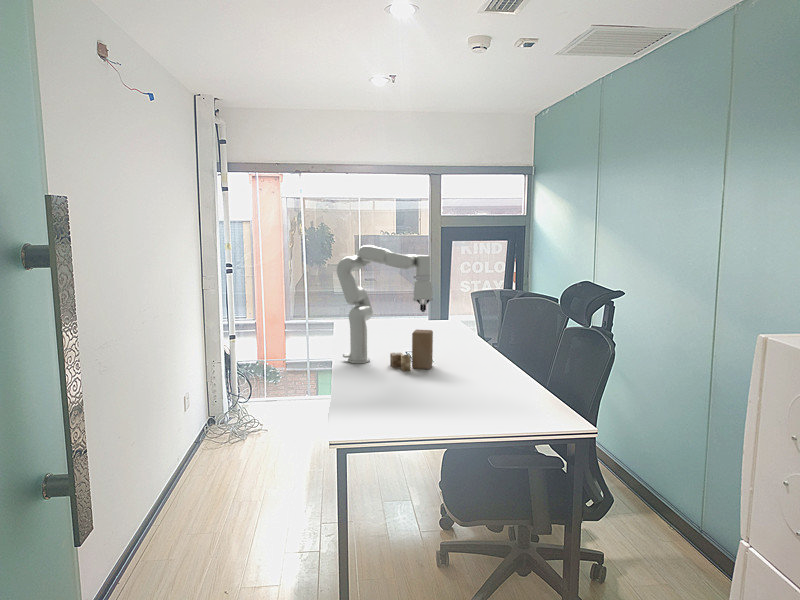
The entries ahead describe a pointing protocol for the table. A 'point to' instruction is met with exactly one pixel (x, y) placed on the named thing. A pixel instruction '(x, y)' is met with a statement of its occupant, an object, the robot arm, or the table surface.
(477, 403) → the table surface
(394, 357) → the walnut block
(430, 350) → the block
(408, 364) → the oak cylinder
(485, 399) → the table surface
